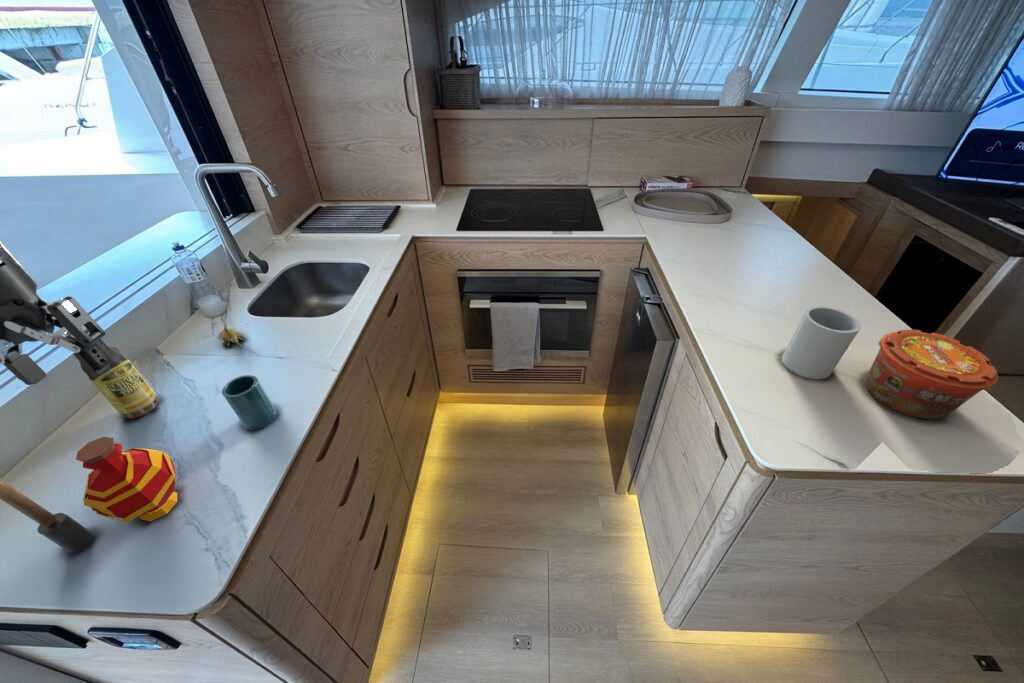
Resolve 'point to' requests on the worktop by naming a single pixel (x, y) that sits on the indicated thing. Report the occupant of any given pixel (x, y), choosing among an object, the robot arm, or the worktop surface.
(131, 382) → the sauce bottle
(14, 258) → the robot arm
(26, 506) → the stick grenade
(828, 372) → the cup
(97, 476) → the potion bottle
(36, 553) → the worktop surface
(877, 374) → the food container
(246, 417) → the teal cylindrical holder
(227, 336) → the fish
